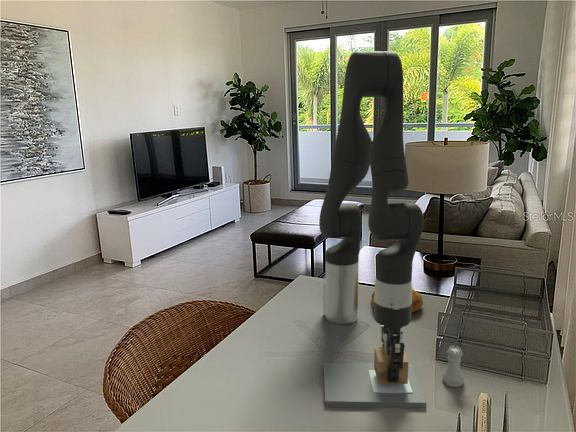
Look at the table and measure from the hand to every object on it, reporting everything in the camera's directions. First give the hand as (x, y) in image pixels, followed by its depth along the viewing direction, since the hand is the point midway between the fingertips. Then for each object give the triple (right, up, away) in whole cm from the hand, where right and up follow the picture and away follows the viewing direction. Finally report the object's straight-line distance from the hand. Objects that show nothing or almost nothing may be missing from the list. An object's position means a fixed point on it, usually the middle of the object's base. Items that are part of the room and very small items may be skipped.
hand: (390, 372), depth 96 cm
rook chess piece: (+14, -3, +2) cm, 14 cm away
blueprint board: (-4, -3, +1) cm, 5 cm away
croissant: (+10, +6, +40) cm, 42 cm away
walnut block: (0, -1, 0) cm, 1 cm away
